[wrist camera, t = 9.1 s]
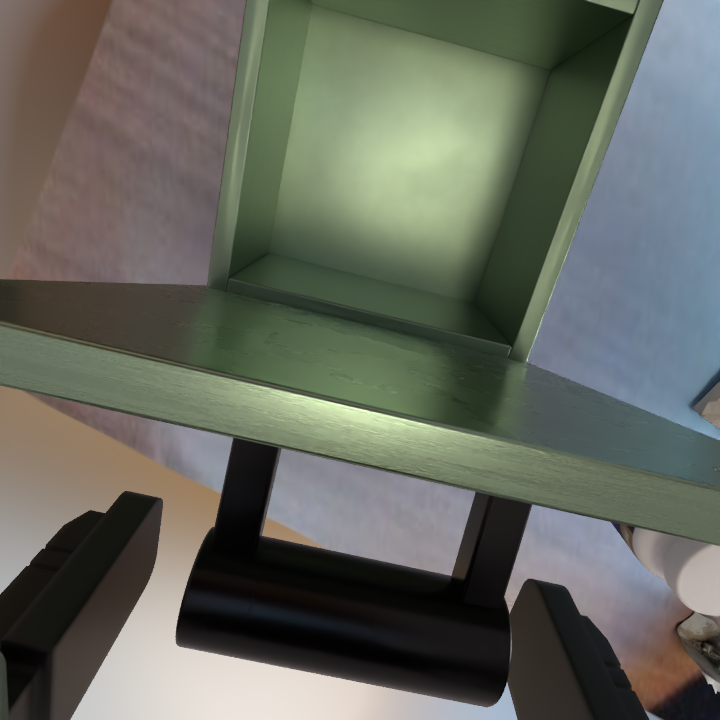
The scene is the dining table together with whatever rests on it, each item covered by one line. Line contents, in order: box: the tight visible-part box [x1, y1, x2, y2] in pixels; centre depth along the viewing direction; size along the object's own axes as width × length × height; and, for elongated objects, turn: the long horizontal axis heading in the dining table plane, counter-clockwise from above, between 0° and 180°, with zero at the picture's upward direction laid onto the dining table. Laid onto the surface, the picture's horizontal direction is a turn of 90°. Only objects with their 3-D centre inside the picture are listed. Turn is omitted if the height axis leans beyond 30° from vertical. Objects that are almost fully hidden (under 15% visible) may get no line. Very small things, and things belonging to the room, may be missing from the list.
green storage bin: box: [207, 0, 664, 362], centre depth 22 cm, size 14×14×9 cm
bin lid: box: [0, 279, 720, 707], centre depth 13 cm, size 14×14×5 cm
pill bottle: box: [611, 522, 720, 616], centre depth 27 cm, size 6×6×10 cm
